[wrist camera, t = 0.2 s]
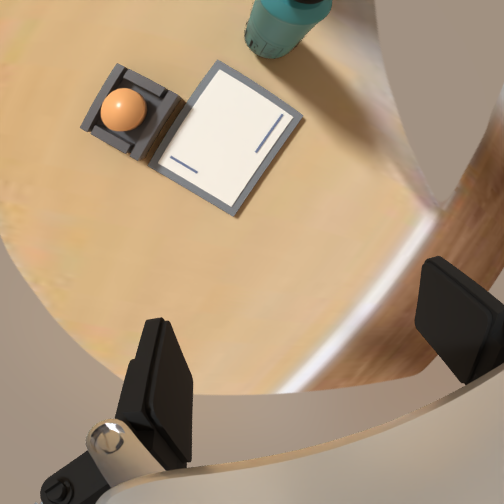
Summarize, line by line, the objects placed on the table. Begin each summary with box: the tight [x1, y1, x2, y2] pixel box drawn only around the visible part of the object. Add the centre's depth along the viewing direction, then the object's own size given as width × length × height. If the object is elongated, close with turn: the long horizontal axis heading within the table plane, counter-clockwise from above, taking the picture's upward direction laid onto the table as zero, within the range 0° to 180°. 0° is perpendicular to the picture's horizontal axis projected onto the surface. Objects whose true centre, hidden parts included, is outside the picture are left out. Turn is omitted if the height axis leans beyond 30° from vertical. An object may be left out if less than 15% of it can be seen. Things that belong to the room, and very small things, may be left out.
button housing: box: [80, 63, 181, 161], centre depth 32 cm, size 9×9×4 cm
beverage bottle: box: [244, 0, 332, 59], centre depth 22 cm, size 6×7×20 cm
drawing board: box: [148, 60, 303, 217], centre depth 36 cm, size 16×13×1 cm
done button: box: [101, 88, 147, 131], centre depth 29 cm, size 5×5×2 cm
